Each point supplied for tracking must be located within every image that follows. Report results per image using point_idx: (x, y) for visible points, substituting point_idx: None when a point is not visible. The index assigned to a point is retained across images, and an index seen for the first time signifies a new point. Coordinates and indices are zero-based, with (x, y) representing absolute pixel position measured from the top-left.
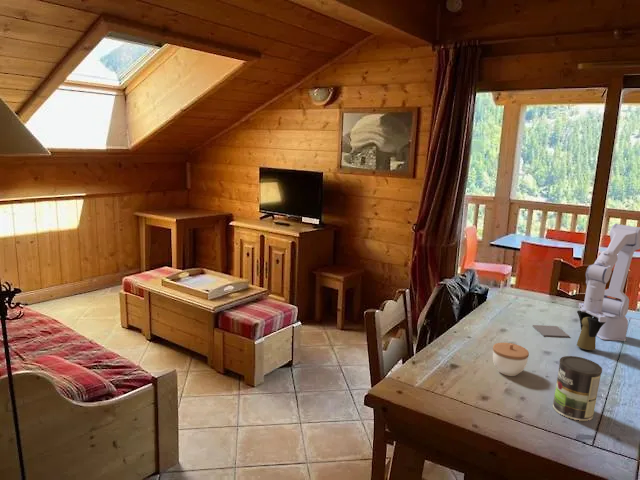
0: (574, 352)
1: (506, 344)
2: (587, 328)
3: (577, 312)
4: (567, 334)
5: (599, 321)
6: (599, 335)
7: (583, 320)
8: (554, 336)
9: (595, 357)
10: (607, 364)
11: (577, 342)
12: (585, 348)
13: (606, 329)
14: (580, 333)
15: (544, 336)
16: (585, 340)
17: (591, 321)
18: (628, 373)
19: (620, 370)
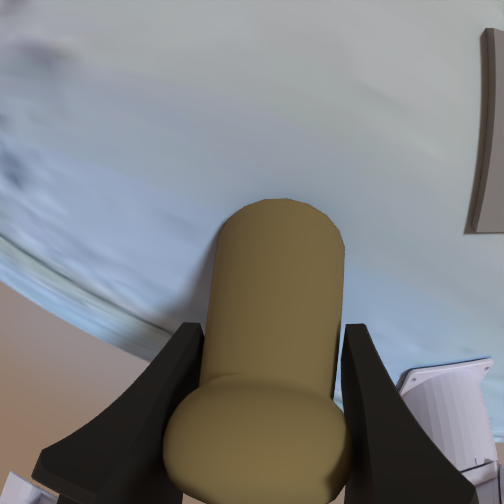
0: (187, 136)
1: None
2: (207, 378)
3: (463, 493)
4: (498, 231)
5: (11, 475)
6: (442, 374)
7: (240, 451)
8: (489, 116)
9: (150, 246)
10: (86, 265)
11: (305, 216)
12: (221, 234)
13: (425, 421)
14: (296, 285)
15: (487, 35)
16: (218, 271)
17: (40, 459)
18: (49, 300)
19: (57, 286)
